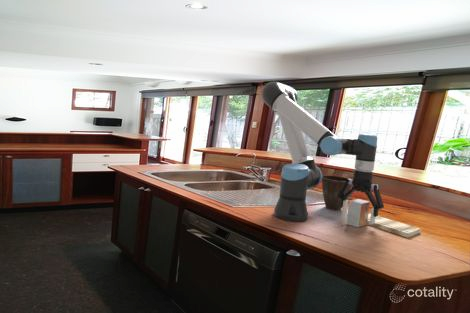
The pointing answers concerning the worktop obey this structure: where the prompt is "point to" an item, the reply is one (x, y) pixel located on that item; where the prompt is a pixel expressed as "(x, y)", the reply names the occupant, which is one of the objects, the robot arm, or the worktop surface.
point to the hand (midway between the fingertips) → (357, 218)
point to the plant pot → (333, 191)
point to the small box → (358, 212)
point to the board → (394, 226)
